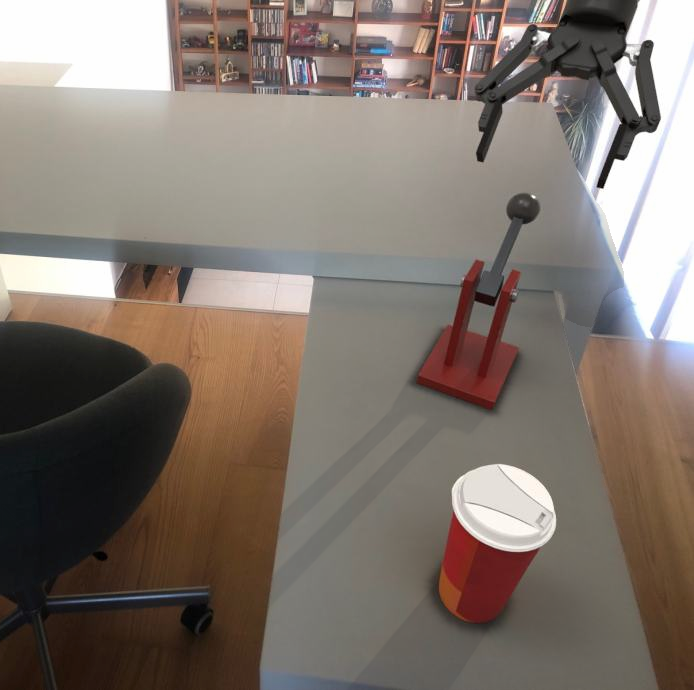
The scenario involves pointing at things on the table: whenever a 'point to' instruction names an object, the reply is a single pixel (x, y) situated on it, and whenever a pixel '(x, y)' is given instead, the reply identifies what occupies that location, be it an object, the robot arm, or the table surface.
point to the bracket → (473, 348)
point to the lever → (507, 246)
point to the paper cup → (492, 539)
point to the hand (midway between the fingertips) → (538, 170)
